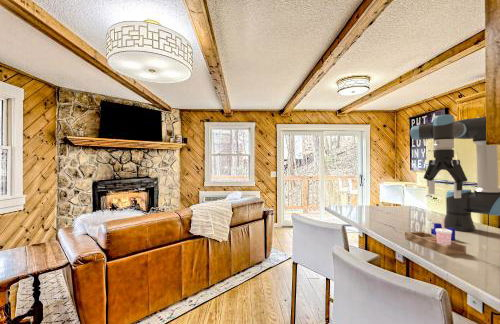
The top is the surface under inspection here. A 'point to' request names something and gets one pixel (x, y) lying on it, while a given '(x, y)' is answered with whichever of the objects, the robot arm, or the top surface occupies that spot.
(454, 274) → the top surface
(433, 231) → the blue notched block
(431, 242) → the wooden holder tray
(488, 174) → the robot arm
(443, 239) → the beverage cup
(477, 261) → the top surface
